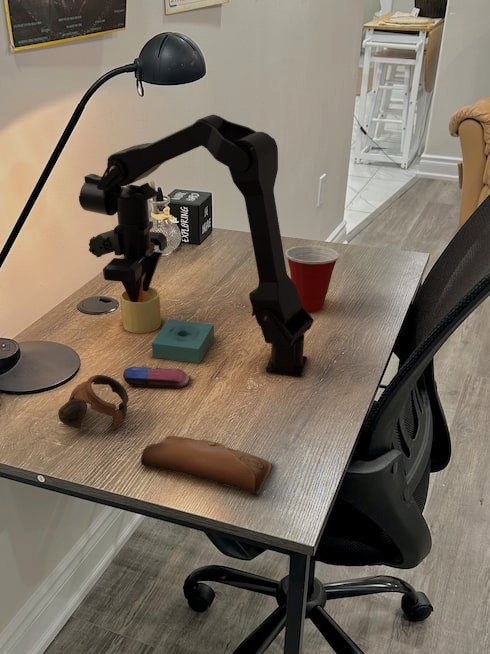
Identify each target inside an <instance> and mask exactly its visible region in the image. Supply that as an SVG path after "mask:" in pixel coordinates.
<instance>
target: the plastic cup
mask: <svg viewBox="0 0 490 654" xmlns="http://www.w3.org/2000/svg"><path fill="white" fill-rule="evenodd" d="M284 256H285V257H286V259H287V262H288V268H289V274H290V279H291V280H292V281H293V283H294V284H295V285H296V287H297V290H298V293H299V297H300V300H301V303H302V305H303V306H304V308H305V309H306V310H307V312H308V313H309V314H310V313H317V312H319V311H321V310H323V307H324V305H325V303H326V302H325V301H326V297H327V294H328V291H329V287H330V284H331V280H332V277H333V272H334V269H335V265H336V263H337V261H338V260H339V257H340V256H341V255H340V252H339V251H338V250H336V249H333V248H331V247H327V246H323V245H321V246H320V245H299V246H293V247H290V248H287V249H286V251H285V252H284Z"/></svg>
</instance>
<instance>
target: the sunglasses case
mask: <svg viewBox="0 0 490 654" xmlns="http://www.w3.org/2000/svg"><path fill="white" fill-rule="evenodd" d="M140 463H141V465H142V466H144V467H148V468H152V469H158V470H162V471H169V472H171V473H178V474H183V475H186V476H190V477H194V478H196V479H200V480H206V481H209V482H212V483H216V484H219V485H222V486H223V485H224V486H227V487H230V488H233V489H234V488H235V489H238V490H242V491H245V492H249V493H252V494H253V493H254V494H256V495H259V494H260V493H261V491H262V489H263V487H264V485H265V484H266V482H267V480H268V477H269V475H270V473H271V471H272V468H273V464H272V463H271V462H270V461H268V460H266V459H264V458H262V457H259V456H256V455H254V454H251V453H249V452H245V451H241V450H238V449H235V448H230V447H226V445H225V444H223V443H220V442H216V441H211V440H208V439H195V438H191V437H190V438H189V437H185V436H178V435H169V436H167V437H165V438H164V439H163V440H161V441H159V442H157V443H151V444H148V445H147V446H146V447H144V449H143V450H142V453H141V456H140Z"/></svg>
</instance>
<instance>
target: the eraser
mask: <svg viewBox="0 0 490 654" xmlns="http://www.w3.org/2000/svg"><path fill="white" fill-rule="evenodd" d="M122 376H123V379H124V383H126V384H127V385H129V386H131V387H132V386H133V387H151V388H167V389H181V388H184V387H186V386H187V385H189V384H188V383H189V381H190V379H189V375H188V374H187V373H186V372H185V371H184V370H182V369H178V368H164V367H163V368H161V367H160V368H159V367H155V368H153V367H148V366H147V367H145V366H129V367H127V368H125V369H124V371H123V375H122Z"/></svg>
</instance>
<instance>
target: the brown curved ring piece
mask: <svg viewBox="0 0 490 654" xmlns="http://www.w3.org/2000/svg"><path fill="white" fill-rule="evenodd" d="M92 384H93V385H95V386H96V385H103V386H109V387H110V388H111V392H112V393H115V394H117V396H118V397H119V398H120V400H121V402H120V403H119V404H118V408H117V405H116V404H115V403H112V402H108V401H105V400H104V399H102V398H101V397H100V396H98V395H97V394H96V393H95V392H94V389H93V386H92ZM128 403H129V395H128V392H127V389H126V388H125V387H124V386H123V385H122V383H120V382H119V381H118V380H116V379H114V378H113V377H111V376H109V375H105V374H104V375H103V374H96V375H93V376H91V377H89V378H88V379H87V380H86V381H82V382H81V383H79V384H77V385H76V387H75V388H73V390H72V391H71V394H70V396H69V399H68V401H67V402H65V403H64V405H62V406H61V407H60V408H59V409H58V411H57V414H58V415H57V416H58V419H59V421H60V422H61V423H63V425H66V426H70V427H71V428H74V429H78V430H79V429H81V424H82V422H83V419H84V417H85V416H86V414H87V413H88V412H87V411H88V405H90V407H89V409H90V410H93V411H95V412H97V413H99V414H104V415H106V416H108V417H112V419H113V420H112V423H111V426H110V428H111V429H112V430H115V429H119V427H120V426H121V424H122V421H124V420H125V418H126V416H127V411H128Z"/></svg>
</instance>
